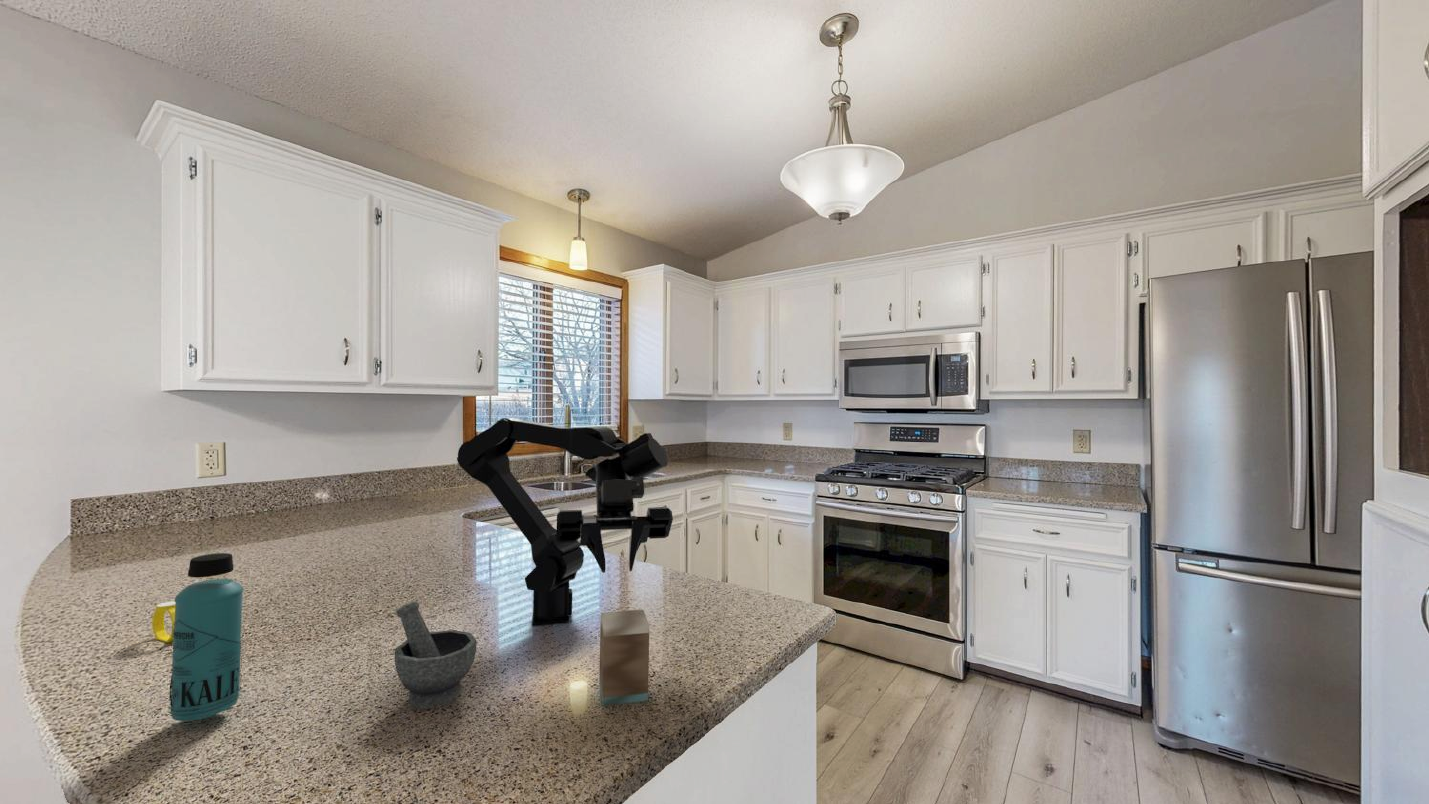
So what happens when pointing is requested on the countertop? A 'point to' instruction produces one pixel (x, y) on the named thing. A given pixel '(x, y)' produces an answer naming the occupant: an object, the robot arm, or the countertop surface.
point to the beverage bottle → (206, 641)
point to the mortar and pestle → (432, 660)
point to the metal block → (624, 657)
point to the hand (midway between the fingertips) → (617, 570)
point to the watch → (159, 621)
